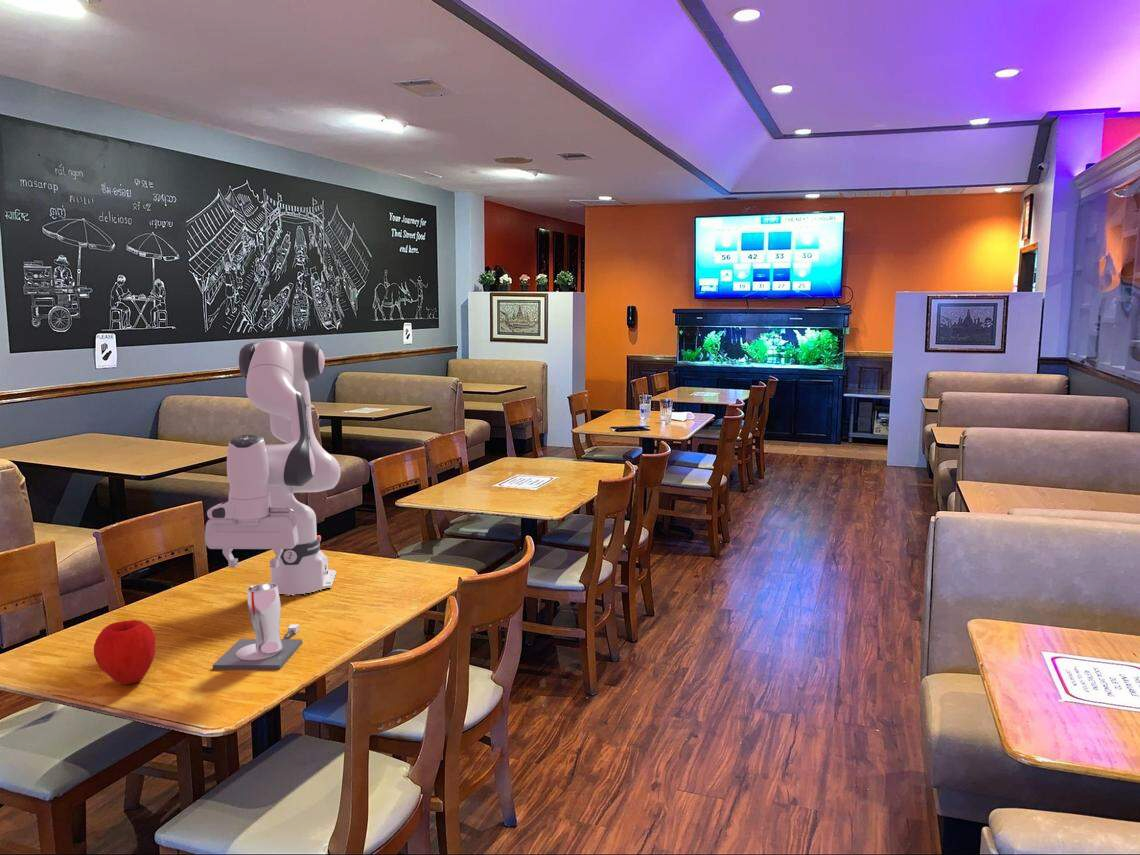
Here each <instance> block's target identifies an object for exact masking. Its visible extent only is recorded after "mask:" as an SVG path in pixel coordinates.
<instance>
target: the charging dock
mask: <svg viewBox="0 0 1140 855" xmlns="http://www.w3.org/2000/svg"><path fill="white" fill-rule="evenodd" d="M297 632H300V623H294V624H293V623H291V624H290V625H289V626H288V627H287V634H286V635H285V636H284V637H283V638H282V639H281V642H282V645H283V649H282V650H281V651H279V652H276V653H273V654H269V655H258V654H256V653H255V645H256V638H240V639H238V640H237V642H235V643H234V644H233V645H232V646H231V647H230V648H229V649H228V650H226V652H225V653H224V654H222V655H221V656H220V658H219V659H217V660H216V661H215V662H214V663H213V664H212V670H281V669H282V668H283V666H285V664H286V663H287V662H288V660H289V659H290V658H291V657H292V656H293V655H294V653H295V652H296V651H297V650H299V648H300V647H301V646H302V644H303V639H302V638H301V639H300V638H299V639H298V638H295V639H294V638H291V637H292V636H293V635H297V634H298V633H297ZM293 633H295V634H293ZM296 633H297V634H296ZM299 646H300V647H299Z"/></svg>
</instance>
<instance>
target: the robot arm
mask: <svg viewBox="0 0 1140 855" xmlns="http://www.w3.org/2000/svg"><path fill="white" fill-rule="evenodd" d="M237 357H238V359H237V360H238V361H237V364H238V365H237V366H238V369H239V372H240V375H241V376H242V378H244V379H245V380H246V381H245V391H246V395H247V397H248V399H249V400H250V402H251V403H252V404H253V405H254V406H255V407H256V408H258V409H260V410H261V411H263V412H265V413H267V414H269V423H270V424H269V427H270V431H271V433H272V434H271V435H273V436H274V437H275V438H276V439H277V440H279V441H281V442H284V444H279V443H278V444H266V442H265V439H264V437H262V436H261V435H258V434H242V435H238V436H234V437H233V438H231V439H230V440H229V441H228V445H227V453H226V455H227V456H226V477H227V481H228V483H229V491H228V500H225V501H223V502H221V503H218V504H216V505H214V506H211V507H210V508H208V510H207V512H206V515H207V518H208V520H207V522H206V524H205V532H204V533H205V534H204V539H205V540H204V541H205V545H206V547H207V548H208V549H209V550H222V555H223V556H224V557H225V559H226V560H227V562H228V568H229V569H230V568H233V569H234V568H235V569H236V568H237V567H239V558H237V557H236V558H235V557H234V555H233V553H232V551H233V550H273V554H275V556H274V558H273V557H272V558H271V559H270V560H269V564H270V565H269V567H270V582H269V583H276V584H277V585H278V591H279V593H281V594H288V595H287V596H290V595H292V594H304V593H309V592H313V591H316V590H319V589H322V588H327V587H331V586H332V584H333V581H334V582H335V580H334V578H335V579H336V577H335V575H336V576H337V574H336V573H337V571H336V570H335V569H331V568H329V560H328V558H329V557H328V556H327V555H326V554H325V553H324V552H323V551H322V550H321V545H320V543H321V540H322V536H321V535H320V534H319V535H317V534H318V532H317V515H316V513H315V511H314V509H313V508H311V507H310V506H309V505H306V504H304V503H302V502H300V501H299V500H297V498H296V497H295V495H294V494H295V493H298V494H299V493H301V494H302V493H319V492H325V491H329V490H332V489H334V488H335V487H336V486H337V485H338V483H339V481H340V479H341V473H342V472H341V466H340V464H339V462H338V460H337V459H336V458H335V456H334V455H332V454H331V453H329V452H328V451H327V450H325V449H324V448H323V447H322V445H321V444H320V442H319V441H318V439H317V437H316V434H315V430H314V426H313V419H312V405H311V404H312V403H311V402H312V401H311V392H310V386H309V385H311V384H313V382H314V381H315V380H318V379H319V378H320V377H321V376H322V374H323V371H324V369H325V368H324V367H325V363H326V362H325V361H326V359H325V358H326V357H325V354H324V352H323V349H322V346H320V345H319V344H318V343H317V342H313V341H310V340H309V341H307V340H305V341H297V340H278V339H267V340H263V341H261V342H251V343H247V344H245V345H243V347H241V348H240V350H239V354H238V356H237ZM333 585H334V584H333ZM304 595H305V594H304ZM292 596H293V595H292Z"/></svg>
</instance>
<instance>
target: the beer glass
mask: <svg viewBox="0 0 1140 855" xmlns="http://www.w3.org/2000/svg"><path fill="white" fill-rule="evenodd" d="M280 596H281V595H279V591H278V585H277V584H276V583H270V582H264V583H258V584H254V585H251V586H249V587H248V588H247V609H248V615H249V619H250V622H251V625H252V629H253V631H254V637H255V638H254V639H256V645H255V653H256V654H258V655H269V654H273V653H276V652H279V651H281V650H282V649H283V645H282V642H281V635H280V634H281V633H280V628H281V627H280V626H281V625H280V624H281V612H282V611H281V610H282V609H281V608H282V607H281V606H282V604H281V598H280Z"/></svg>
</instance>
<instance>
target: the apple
mask: <svg viewBox="0 0 1140 855" xmlns="http://www.w3.org/2000/svg"><path fill="white" fill-rule="evenodd" d="M156 643H157V642H156V635H155V633H154V630H153V628H152V627H151V626H149V624H147V623H145V622H144V621H141V620H137V619H132V620H131V619H130V620H122V621H121V620H120V621H116V622H113V623H109V624H108V625H107V626H105V627H104V628H102V630H101V631H100V632H99V634H98V636H97V637H96V639H95V642H94V645H93V656H94V659H95V663H96V664H97V666H99V669H100V670H101V671H103V672H104V673H105V674H106V675H107V676H108V677H109V678H111V679H112V680H113V681H114V682H115V683H119V684H121V685H131V684H134V683H139V682H140V681H141V680H143V679H144V678H145V676H146V674H147V673H148V671H149V669H150V668H151V666H152V663H153V661H154V657H155V655H156Z"/></svg>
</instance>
